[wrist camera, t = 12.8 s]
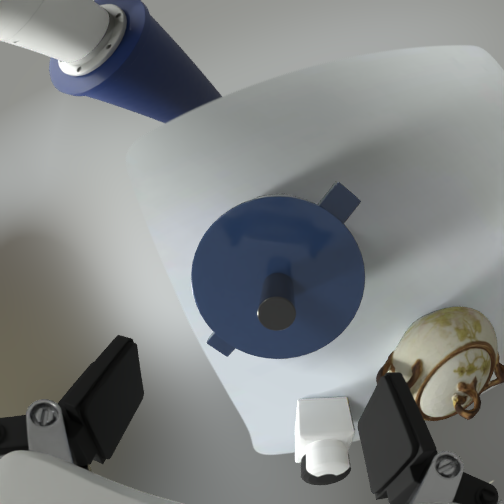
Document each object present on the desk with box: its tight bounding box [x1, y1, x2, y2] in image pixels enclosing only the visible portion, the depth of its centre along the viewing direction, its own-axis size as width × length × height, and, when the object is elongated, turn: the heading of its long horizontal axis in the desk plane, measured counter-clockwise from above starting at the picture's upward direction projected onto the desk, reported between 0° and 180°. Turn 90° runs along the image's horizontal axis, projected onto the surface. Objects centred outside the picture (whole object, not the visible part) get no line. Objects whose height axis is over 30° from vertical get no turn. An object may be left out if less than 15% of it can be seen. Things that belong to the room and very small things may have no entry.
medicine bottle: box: [295, 396, 355, 485], centre depth 30 cm, size 7×7×12 cm
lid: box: [191, 196, 365, 359], centre depth 20 cm, size 14×14×6 cm
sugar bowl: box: [376, 307, 504, 421], centre depth 24 cm, size 20×15×15 cm
